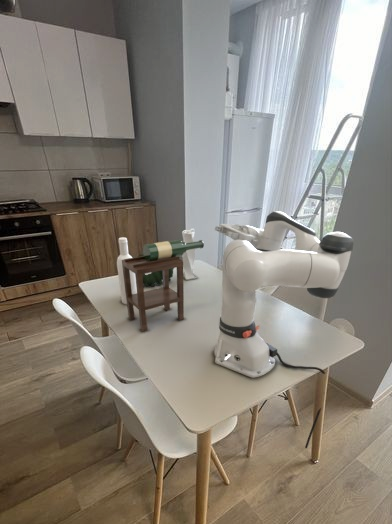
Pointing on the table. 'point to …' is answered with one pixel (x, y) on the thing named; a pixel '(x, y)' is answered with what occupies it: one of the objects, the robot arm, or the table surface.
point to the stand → (156, 295)
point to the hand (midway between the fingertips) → (221, 230)
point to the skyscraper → (188, 256)
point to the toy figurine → (155, 277)
